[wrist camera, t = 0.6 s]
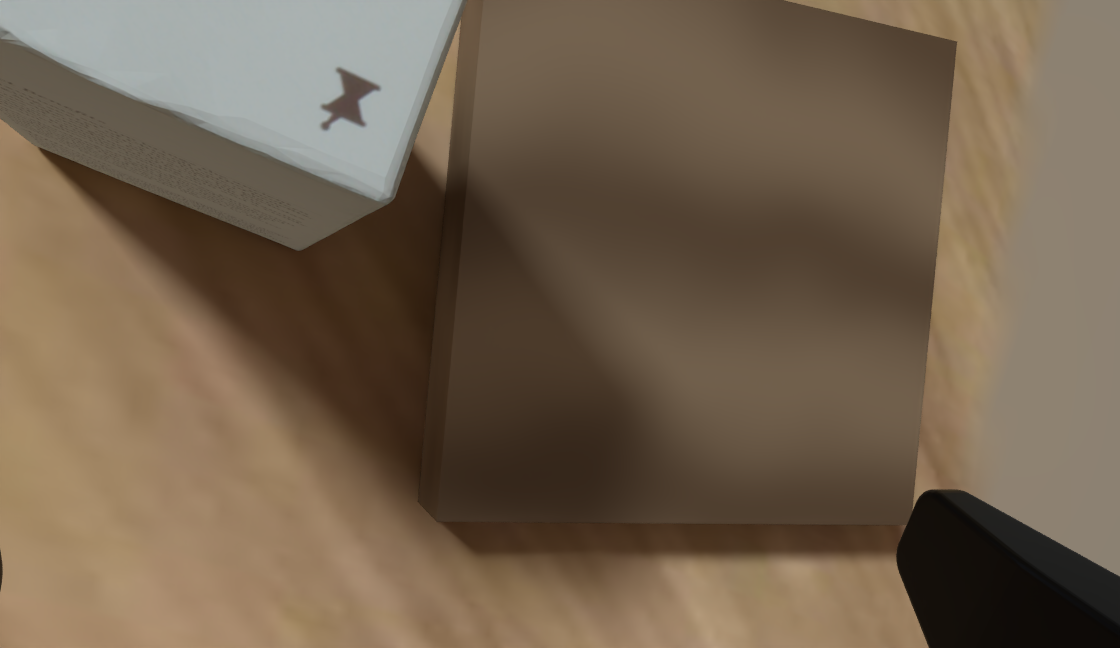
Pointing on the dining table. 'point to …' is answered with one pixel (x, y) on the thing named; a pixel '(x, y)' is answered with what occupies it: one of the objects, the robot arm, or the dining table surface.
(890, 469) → the walnut plinth
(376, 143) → the skincare box
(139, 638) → the dining table surface
